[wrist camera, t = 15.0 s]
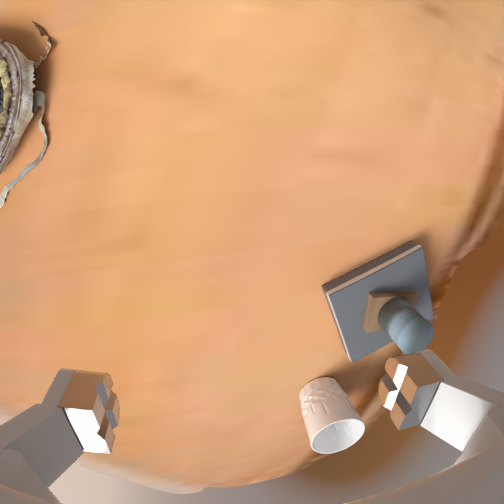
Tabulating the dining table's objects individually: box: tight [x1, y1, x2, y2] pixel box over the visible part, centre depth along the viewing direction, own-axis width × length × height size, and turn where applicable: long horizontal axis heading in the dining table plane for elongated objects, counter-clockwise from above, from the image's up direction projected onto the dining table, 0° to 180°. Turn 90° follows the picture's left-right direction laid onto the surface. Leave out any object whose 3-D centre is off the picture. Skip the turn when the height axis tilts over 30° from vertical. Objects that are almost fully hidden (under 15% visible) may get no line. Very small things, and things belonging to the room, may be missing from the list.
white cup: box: [299, 377, 365, 454], centre depth 42 cm, size 8×8×10 cm
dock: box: [322, 241, 433, 362], centre depth 41 cm, size 14×12×3 cm
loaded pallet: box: [362, 289, 433, 354], centre depth 36 cm, size 7×5×8 cm
